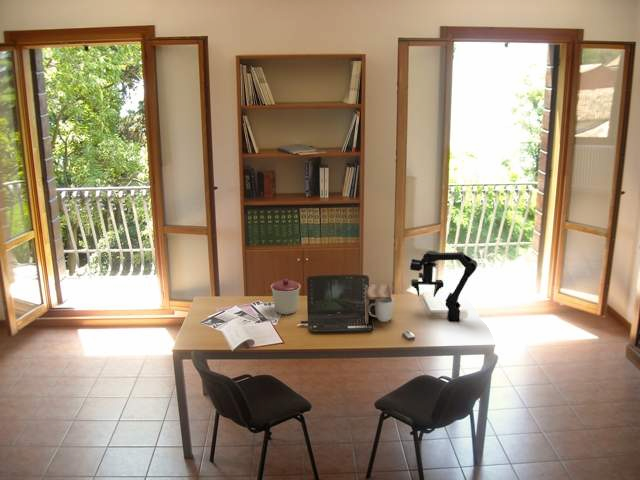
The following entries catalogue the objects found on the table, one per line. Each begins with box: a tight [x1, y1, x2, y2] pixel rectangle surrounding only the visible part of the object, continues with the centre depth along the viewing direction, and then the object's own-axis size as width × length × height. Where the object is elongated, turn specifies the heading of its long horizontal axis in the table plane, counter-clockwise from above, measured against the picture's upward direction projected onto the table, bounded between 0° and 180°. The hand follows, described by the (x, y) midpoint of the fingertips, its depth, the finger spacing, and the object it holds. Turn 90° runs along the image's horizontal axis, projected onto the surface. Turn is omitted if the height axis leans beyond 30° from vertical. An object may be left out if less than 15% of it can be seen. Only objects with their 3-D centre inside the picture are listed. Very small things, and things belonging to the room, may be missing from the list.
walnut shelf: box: [364, 283, 392, 325], centre depth 359 cm, size 14×20×18 cm
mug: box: [368, 297, 395, 323], centre depth 360 cm, size 15×11×13 cm
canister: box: [270, 278, 301, 315], centre depth 370 cm, size 18×18×21 cm
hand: (426, 296), depth 365 cm, fingers open, 9 cm apart
